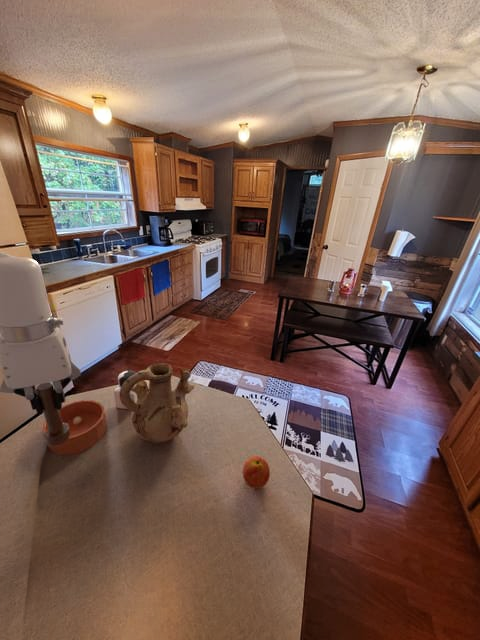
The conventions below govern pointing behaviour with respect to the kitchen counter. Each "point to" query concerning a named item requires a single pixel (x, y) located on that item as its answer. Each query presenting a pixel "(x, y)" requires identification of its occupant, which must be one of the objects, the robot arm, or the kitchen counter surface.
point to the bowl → (80, 426)
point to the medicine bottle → (121, 380)
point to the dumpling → (77, 420)
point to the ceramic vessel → (157, 402)
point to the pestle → (52, 416)
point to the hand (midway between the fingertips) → (50, 407)
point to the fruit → (256, 472)
